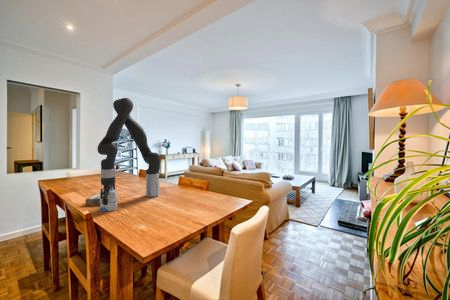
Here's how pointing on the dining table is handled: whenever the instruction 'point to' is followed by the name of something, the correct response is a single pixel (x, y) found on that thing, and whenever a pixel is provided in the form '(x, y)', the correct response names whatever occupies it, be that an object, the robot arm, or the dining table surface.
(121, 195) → the dining table surface
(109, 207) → the ink box
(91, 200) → the base
